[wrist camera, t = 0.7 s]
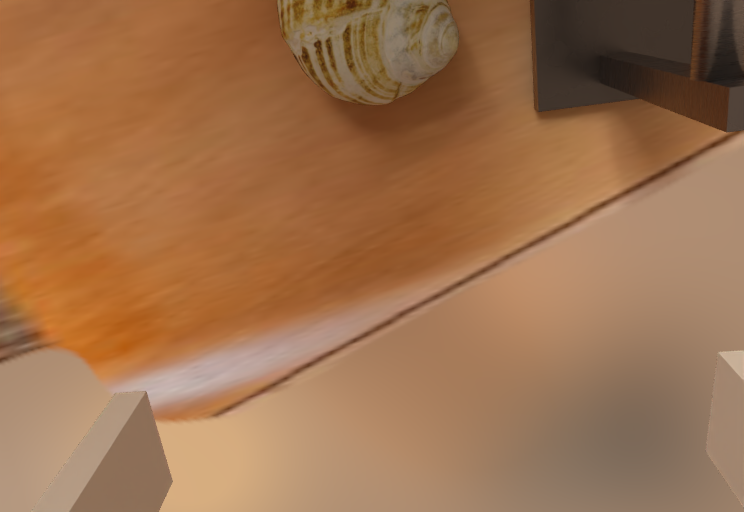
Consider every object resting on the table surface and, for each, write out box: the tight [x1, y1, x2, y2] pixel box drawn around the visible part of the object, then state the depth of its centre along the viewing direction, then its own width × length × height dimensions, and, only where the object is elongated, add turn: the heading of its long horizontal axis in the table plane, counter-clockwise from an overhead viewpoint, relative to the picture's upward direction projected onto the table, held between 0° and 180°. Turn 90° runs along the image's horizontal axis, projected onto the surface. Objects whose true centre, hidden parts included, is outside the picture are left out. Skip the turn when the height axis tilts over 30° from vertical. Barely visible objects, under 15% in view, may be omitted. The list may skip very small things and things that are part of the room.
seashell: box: [277, 0, 459, 105], centre depth 34 cm, size 10×10×10 cm
